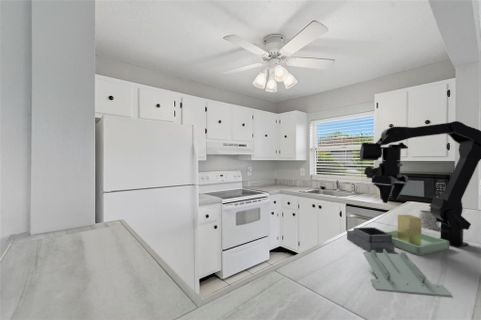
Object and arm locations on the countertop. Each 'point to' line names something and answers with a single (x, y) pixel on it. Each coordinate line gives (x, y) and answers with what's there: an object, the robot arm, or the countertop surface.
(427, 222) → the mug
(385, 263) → the metal bracket
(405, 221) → the tan note paper block
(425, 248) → the parts tray
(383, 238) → the dark grey stepped fixture
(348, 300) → the countertop surface
